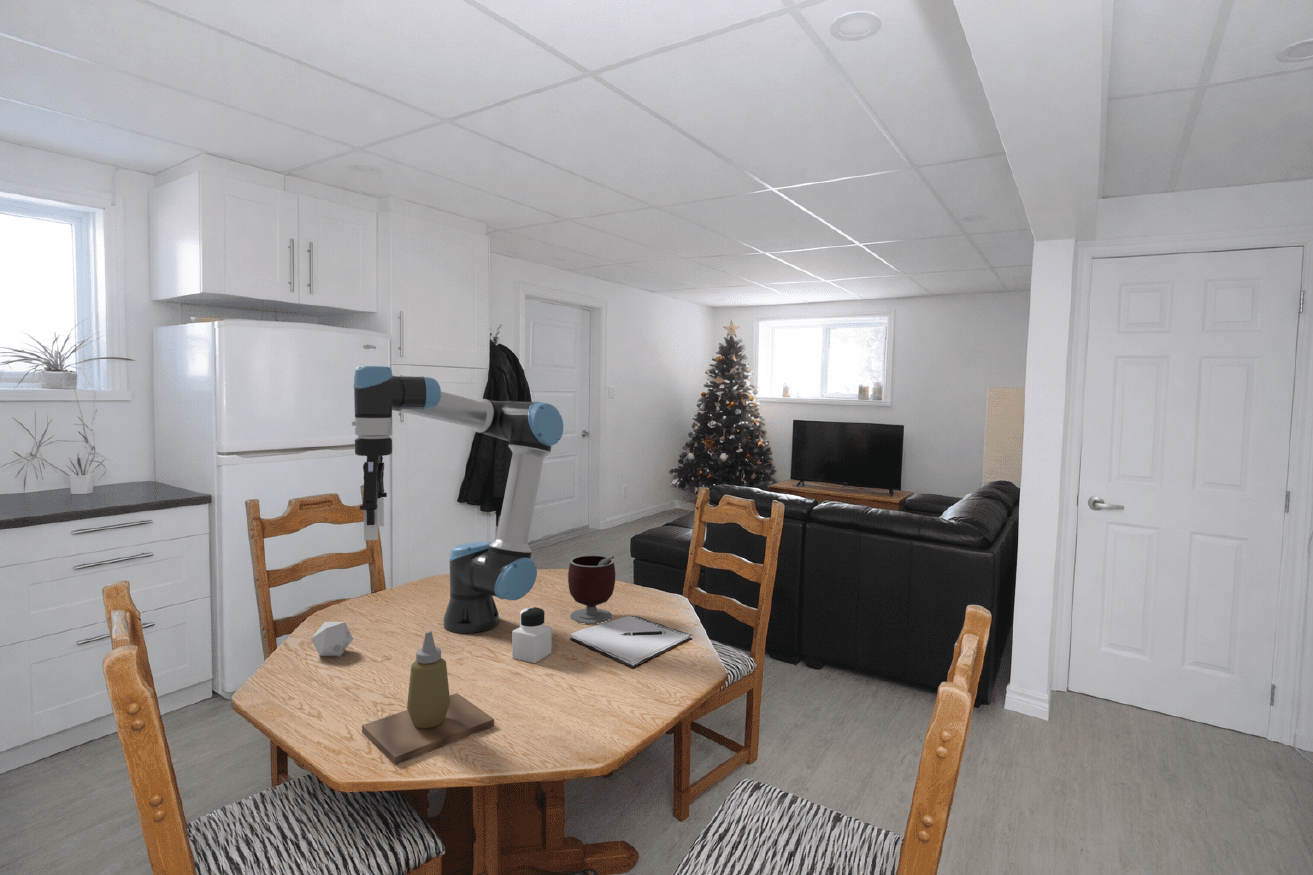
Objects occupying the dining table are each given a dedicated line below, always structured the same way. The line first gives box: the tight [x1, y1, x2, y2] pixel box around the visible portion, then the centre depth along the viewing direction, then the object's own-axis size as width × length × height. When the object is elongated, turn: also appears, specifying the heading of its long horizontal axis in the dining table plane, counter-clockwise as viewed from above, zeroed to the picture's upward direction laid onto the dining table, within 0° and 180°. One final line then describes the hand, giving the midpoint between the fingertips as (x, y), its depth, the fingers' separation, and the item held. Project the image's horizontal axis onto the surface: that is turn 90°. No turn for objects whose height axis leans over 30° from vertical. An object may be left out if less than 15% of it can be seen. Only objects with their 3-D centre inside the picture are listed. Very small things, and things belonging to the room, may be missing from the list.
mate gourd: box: [567, 554, 616, 625], centre depth 192 cm, size 16×14×20 cm
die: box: [310, 621, 354, 657], centre depth 162 cm, size 8×9×10 cm
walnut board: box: [361, 692, 495, 766], centre depth 128 cm, size 20×15×2 cm
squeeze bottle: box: [406, 631, 451, 728], centre depth 127 cm, size 8×8×18 cm
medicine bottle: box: [511, 606, 552, 664], centre depth 164 cm, size 7×7×12 cm
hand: (374, 532), depth 144 cm, fingers open, 13 cm apart
